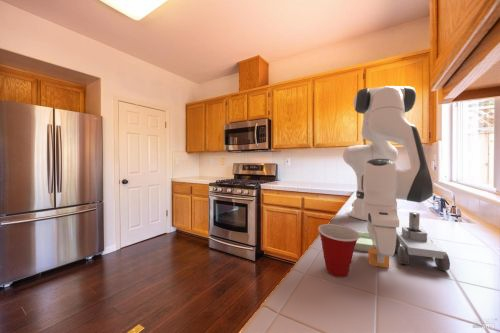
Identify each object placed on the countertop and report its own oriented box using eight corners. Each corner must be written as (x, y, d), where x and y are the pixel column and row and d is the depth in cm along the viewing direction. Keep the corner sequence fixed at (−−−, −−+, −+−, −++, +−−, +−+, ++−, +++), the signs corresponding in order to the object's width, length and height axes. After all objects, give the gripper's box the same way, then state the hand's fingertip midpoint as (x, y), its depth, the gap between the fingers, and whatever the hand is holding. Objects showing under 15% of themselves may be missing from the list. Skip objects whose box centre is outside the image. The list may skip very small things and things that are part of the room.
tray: (348, 236, 85) (348, 230, 85) (377, 239, 81) (377, 233, 81) (350, 249, 73) (350, 242, 73) (384, 254, 69) (384, 246, 69)
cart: (390, 247, 74) (390, 224, 74) (428, 252, 70) (429, 227, 70) (402, 266, 61) (402, 238, 61) (449, 274, 57) (450, 243, 57)
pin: (407, 235, 69) (408, 211, 69) (417, 236, 68) (417, 212, 68) (410, 238, 67) (410, 213, 67) (420, 239, 66) (420, 214, 66)
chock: (369, 264, 63) (369, 252, 63) (368, 258, 66) (368, 247, 66) (389, 267, 61) (389, 256, 60) (386, 261, 64) (387, 250, 64)
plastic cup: (346, 288, 51) (346, 240, 51) (309, 270, 60) (309, 228, 59) (367, 274, 57) (367, 231, 57) (331, 258, 66) (331, 221, 66)
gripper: (363, 204, 74) (362, 243, 74) (372, 220, 55) (372, 272, 55) (383, 206, 71) (383, 245, 72) (401, 223, 52) (400, 277, 53)
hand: (378, 257), depth 63 cm, fingers closed on chock, 4 cm apart
